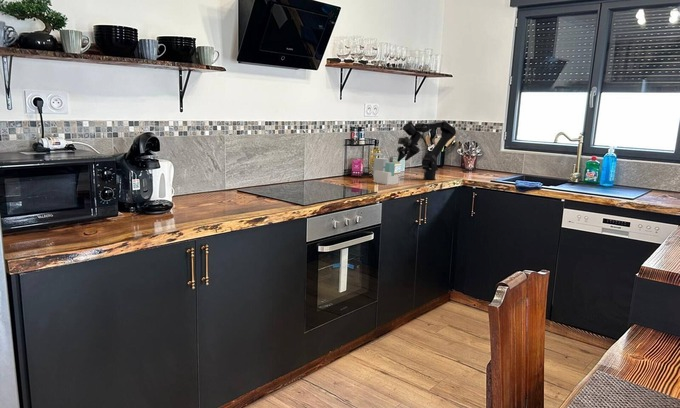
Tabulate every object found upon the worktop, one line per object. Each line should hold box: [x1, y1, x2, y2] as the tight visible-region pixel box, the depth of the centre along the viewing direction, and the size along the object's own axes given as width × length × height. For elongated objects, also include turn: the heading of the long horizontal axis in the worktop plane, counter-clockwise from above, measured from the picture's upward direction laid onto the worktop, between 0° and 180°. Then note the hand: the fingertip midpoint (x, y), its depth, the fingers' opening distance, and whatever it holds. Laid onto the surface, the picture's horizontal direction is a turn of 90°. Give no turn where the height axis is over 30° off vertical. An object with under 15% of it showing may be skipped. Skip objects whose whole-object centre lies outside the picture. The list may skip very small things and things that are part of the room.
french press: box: [370, 137, 384, 176], centre depth 340 cm, size 10×12×25 cm
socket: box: [373, 170, 400, 186], centre depth 305 cm, size 10×12×7 cm
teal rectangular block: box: [385, 162, 396, 176], centre depth 305 cm, size 6×4×12 cm
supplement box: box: [372, 157, 390, 179], centre depth 328 cm, size 7×7×13 cm
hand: (401, 160), depth 312 cm, fingers open, 9 cm apart
